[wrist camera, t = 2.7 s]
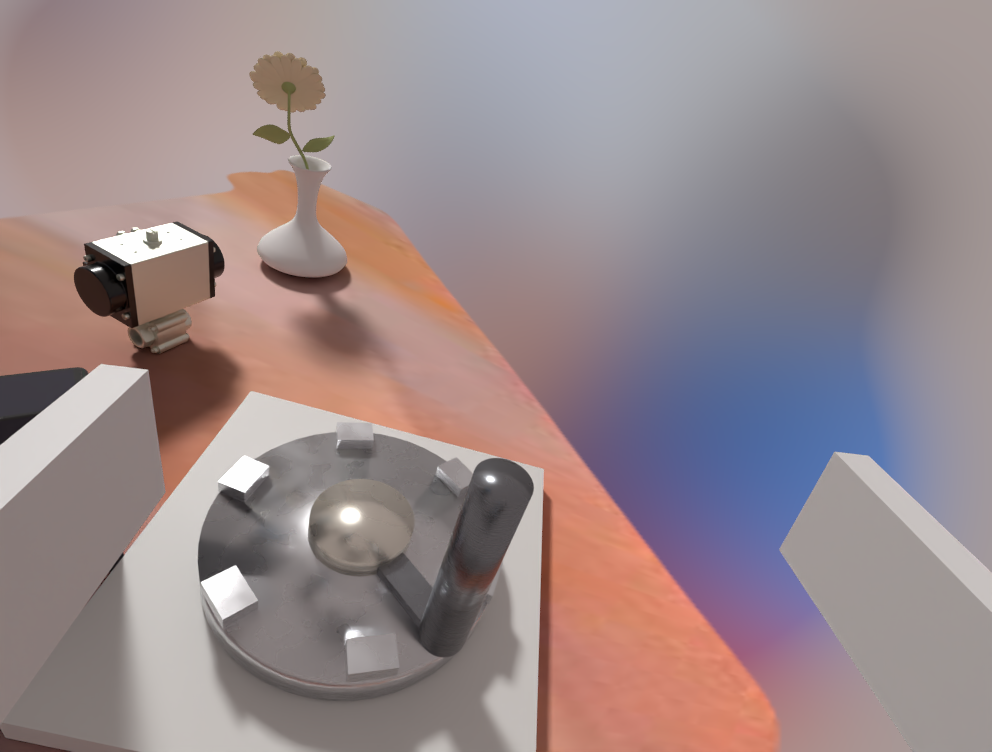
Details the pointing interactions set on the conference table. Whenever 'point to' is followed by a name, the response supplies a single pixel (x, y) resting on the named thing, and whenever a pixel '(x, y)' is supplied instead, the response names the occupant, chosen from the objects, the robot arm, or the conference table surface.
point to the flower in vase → (297, 171)
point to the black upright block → (33, 398)
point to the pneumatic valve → (150, 281)
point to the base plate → (237, 693)
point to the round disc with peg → (354, 560)
